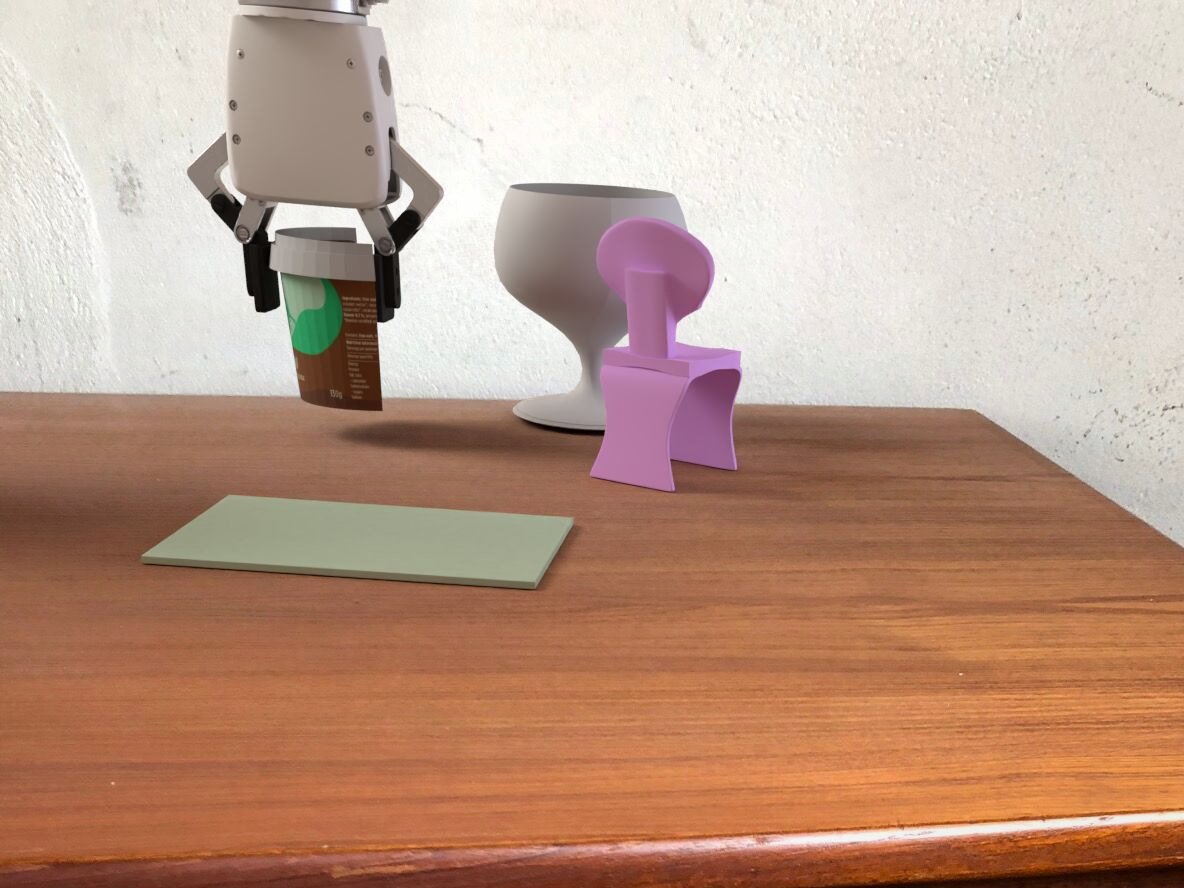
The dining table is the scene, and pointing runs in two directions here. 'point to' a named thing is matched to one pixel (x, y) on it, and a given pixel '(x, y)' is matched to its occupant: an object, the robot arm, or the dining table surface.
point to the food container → (331, 315)
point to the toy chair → (662, 360)
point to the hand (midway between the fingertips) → (325, 313)
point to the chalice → (570, 278)
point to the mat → (367, 542)
